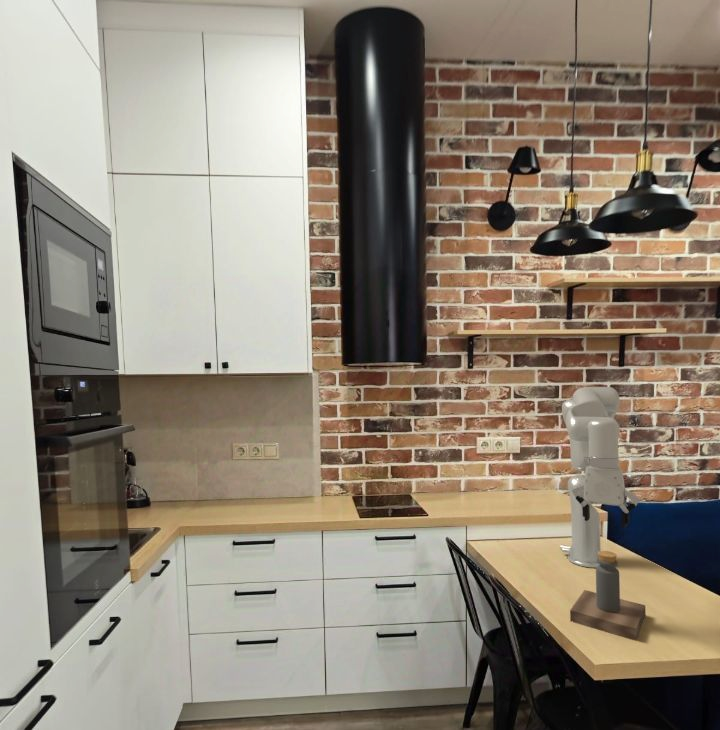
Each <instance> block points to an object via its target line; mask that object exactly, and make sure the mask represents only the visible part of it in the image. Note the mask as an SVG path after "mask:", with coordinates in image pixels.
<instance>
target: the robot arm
mask: <svg viewBox="0 0 720 730" xmlns="http://www.w3.org/2000/svg"><path fill="white" fill-rule="evenodd" d="M617 391H618V390H616V388H613V387H611V386H584V387H579V388H578V389H576V390H575V391H574V392H573V395H572V399H567V400H565V401H563V403H562V405H561V413H562V418H563V421H564V424H565V427H566V431H567V435H568V437H569V447H570V463H571V467H572V468H573V469H574V470H575V471H579V472H584V474H574V475H573V476H571V477H569V478H568V481H567V491H568V495H569V501H570V512H571V513H570V516H571V517H570V519H571V520H570V521H571V545H569V546H568V545H565V544H560V550H561V551H562V553H568V555H567V560H568V561H569V562H571V563H573V564H575V565H577V566H580V567H585V568H595V569H596V567H597V566H599V565H600V564H599V563H598V562H597V558H599V556H598V552H599V551H602V550H601V549H602V548H601V547H602V546H601V521H600V513H599V511H598V509H597V508H596V507H595V506H594V505H593V504H592V503H594V504H601V505H608V506H617V507H619V508H620V510H622V512H621V527H622V528H626V527H627V526H628V525H629V524H630V512H631V511H632V510H634V509H635V508H636V506H637V505H638V503H639V502H640V500H641V498H640V496H637V495H636V494H634V493H632V492H631V491H629V490H627V489H626V488H625V487H626V486H625V480H624V474H623V470H622V468H621V467H620V462H619V461H620V460H619V437H620V434H621V433H620V432H621V431H620V430H621V429H620V423H619V422H618V421H617V420H616V419H615V417H616V414H617V413H618V411H619V408H620V401H621V400H620V396H619V392H617ZM626 498H629V499H631V500H632V501H631V503H630V504H627V503H626Z"/></svg>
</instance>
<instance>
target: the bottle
mask: <svg viewBox="0 0 720 730" xmlns="http://www.w3.org/2000/svg"><path fill="white" fill-rule="evenodd" d="M598 556H599V558H597V562H598V563H599V564H600V565H599V566H597V567H596V568H595V586H596V587H595V593H596V600H597V607H598V608H600V609H602V610H604V611H608V612H618V611H619V610H620V599H621V593H620V591H621V589H620V586H621V585H620V570H619V569H618V568H616V567H618V563H619V562H618V561H617V556H618V555H617V553H614V552H612V551H608V550H601V551H599V552H598Z"/></svg>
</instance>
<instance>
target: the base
mask: <svg viewBox="0 0 720 730" xmlns="http://www.w3.org/2000/svg"><path fill="white" fill-rule="evenodd" d="M646 613H647V612H646V605H645V604H641V603H637V602H634V601H629V600H625V599H622V598H620V610H619V611H618V612H608V611H604V610H602V609H600V608H598V607H597V600H596V591H595V592H594V591H589V590H586V589H584V590H583V591H582V593H581V594H580V595H579V597H578V599H577V600H576V601H575V603H574V604H573V605H572V607H571V608H570V609H569V617H570V618H569V619H570V621H569V622H572V621H573V622H572V623H576V624H578V623H579V625H582V626H585V627H588V628H593V629H595V630H599V631H603V632H606V633H609V634H613V635H616V636H619V637H623V638H626V639H629V640H633V641H635V642H636V641H637V640H638V638H639V635H640V632H641V630H642V626H643V624H644V623H645V619H646V616H647V615H646Z"/></svg>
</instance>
